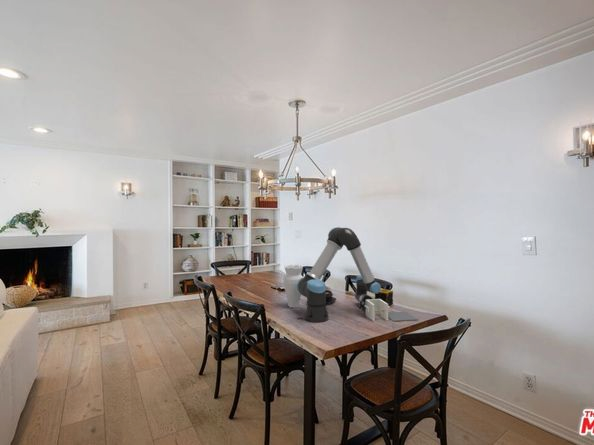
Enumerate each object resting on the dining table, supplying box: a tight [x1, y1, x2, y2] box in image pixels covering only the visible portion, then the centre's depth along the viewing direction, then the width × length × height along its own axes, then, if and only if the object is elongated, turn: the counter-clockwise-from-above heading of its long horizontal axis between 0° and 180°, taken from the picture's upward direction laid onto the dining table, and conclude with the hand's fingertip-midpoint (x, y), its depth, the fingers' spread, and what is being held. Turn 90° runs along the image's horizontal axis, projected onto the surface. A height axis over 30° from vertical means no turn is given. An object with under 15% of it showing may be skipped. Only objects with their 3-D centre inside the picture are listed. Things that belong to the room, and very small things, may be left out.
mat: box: [388, 311, 419, 323], centre depth 190 cm, size 16×16×1 cm
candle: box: [374, 288, 394, 307], centre depth 219 cm, size 10×10×10 cm
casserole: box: [326, 289, 337, 305], centre depth 224 cm, size 25×19×8 cm
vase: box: [283, 264, 304, 309], centre depth 215 cm, size 15×15×29 cm
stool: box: [364, 298, 389, 322], centre depth 189 cm, size 10×12×10 cm
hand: (379, 309), depth 186 cm, fingers open, 13 cm apart
